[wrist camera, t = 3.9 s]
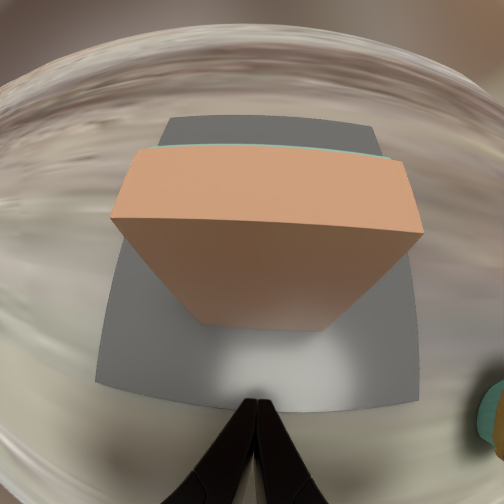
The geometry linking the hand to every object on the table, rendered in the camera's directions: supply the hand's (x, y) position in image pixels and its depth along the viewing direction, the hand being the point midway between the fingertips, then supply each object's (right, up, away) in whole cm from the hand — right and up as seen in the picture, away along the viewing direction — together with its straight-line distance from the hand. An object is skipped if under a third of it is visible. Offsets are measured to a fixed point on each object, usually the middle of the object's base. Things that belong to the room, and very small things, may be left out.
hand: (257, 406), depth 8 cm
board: (+1, +7, +11) cm, 13 cm away
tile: (0, +2, +8) cm, 8 cm away
